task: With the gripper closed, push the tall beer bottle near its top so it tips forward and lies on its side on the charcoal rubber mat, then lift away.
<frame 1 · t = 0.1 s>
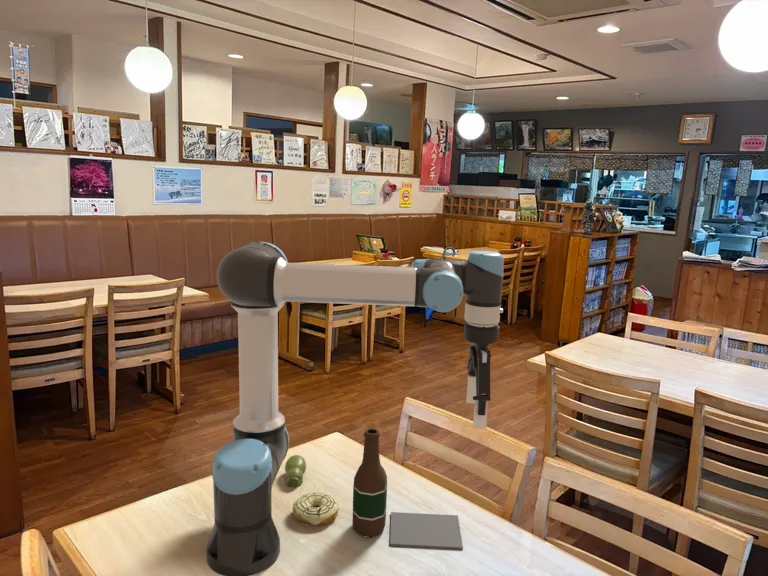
hand: (475, 414, 126), 28 cm above the table, tool pointing down, fingers open, 13 cm apart
beer bottle: (368, 528, 129), on the table
decorated donut: (315, 516, 134), on the table
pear: (294, 479, 149), on the table
mat: (425, 530, 129), on the table
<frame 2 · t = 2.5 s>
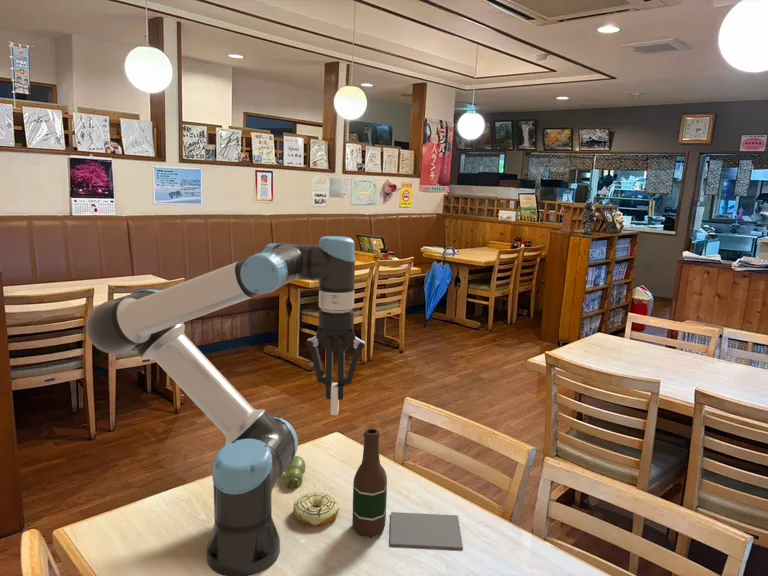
hand: (334, 412, 124), 28 cm above the table, tool pointing down, fingers closed
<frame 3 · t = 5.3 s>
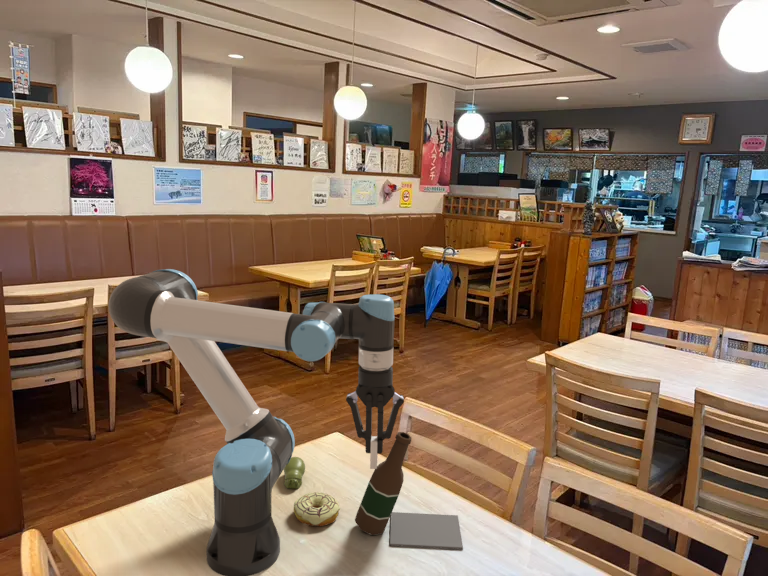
hand: (373, 465, 126), 16 cm above the table, tool pointing down, fingers closed
beer bottle: (369, 524, 129), point 1 cm above the table
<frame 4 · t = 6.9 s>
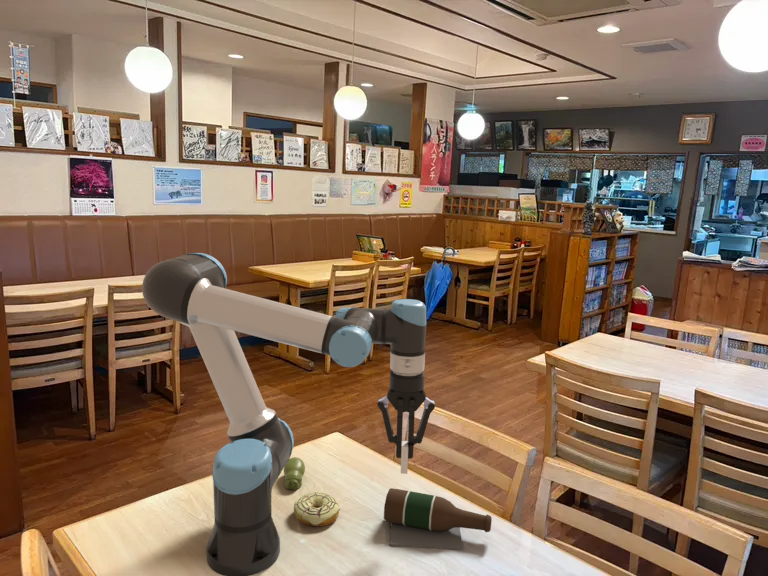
hand: (404, 470, 126), 15 cm above the table, tool pointing down, fingers closed
beer bottle: (386, 504, 132), point 4 cm above the table, touching mat
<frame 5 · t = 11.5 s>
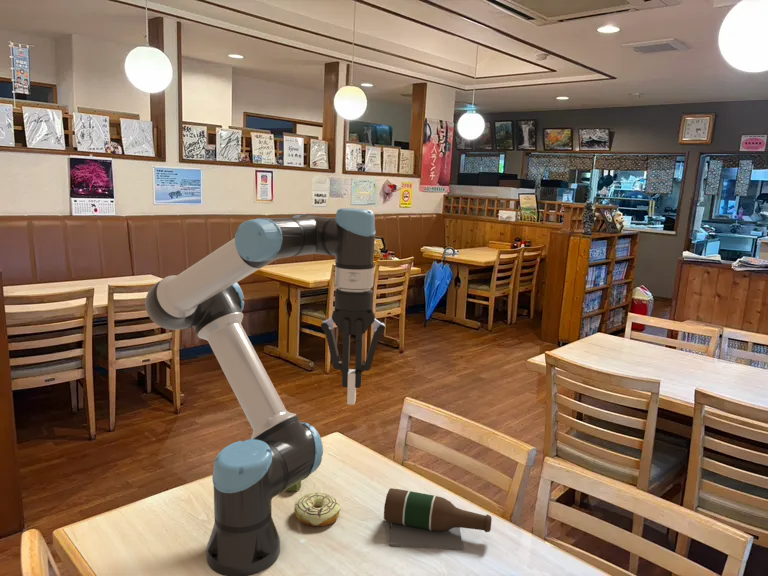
hand: (351, 401, 114), 34 cm above the table, tool pointing down, fingers closed
at the end: beer bottle tilted 90°; beer bottle touching mat; beer bottle inside the target area (3.7 cm from its centre), point 4.1 cm above the table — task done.
